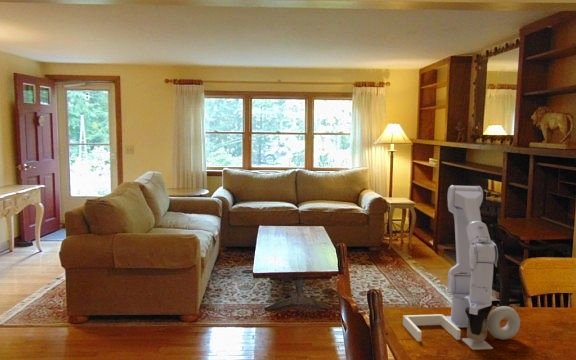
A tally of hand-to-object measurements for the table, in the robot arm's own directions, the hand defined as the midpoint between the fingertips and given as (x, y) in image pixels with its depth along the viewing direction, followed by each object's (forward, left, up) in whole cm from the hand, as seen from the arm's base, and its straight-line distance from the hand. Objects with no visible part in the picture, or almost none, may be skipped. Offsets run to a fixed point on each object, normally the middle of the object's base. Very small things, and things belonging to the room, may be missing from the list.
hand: (477, 330), depth 129 cm
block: (0, 0, -2) cm, 2 cm away
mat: (0, 0, -4) cm, 4 cm away
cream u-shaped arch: (+10, -9, -4) cm, 14 cm away
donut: (-10, -3, -4) cm, 11 cm away
